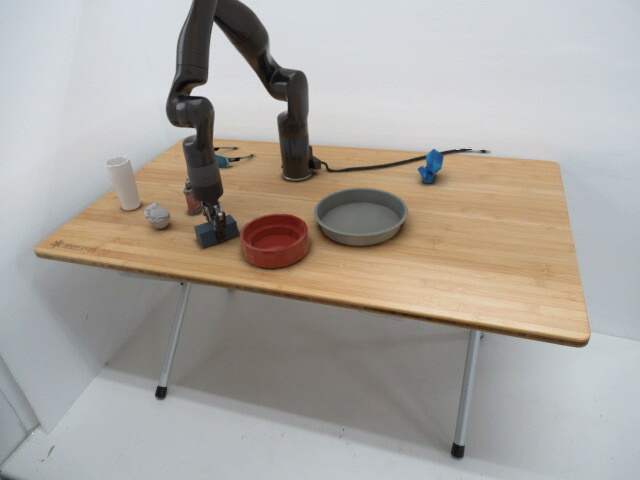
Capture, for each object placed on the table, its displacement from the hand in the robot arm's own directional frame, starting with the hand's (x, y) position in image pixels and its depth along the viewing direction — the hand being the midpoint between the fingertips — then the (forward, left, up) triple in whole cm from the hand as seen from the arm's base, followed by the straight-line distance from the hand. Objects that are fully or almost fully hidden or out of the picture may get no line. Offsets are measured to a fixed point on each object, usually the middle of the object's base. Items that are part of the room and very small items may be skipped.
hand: (217, 236), depth 123 cm
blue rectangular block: (0, 0, 0) cm, 0 cm away
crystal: (-66, +9, -1) cm, 67 cm away
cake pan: (-34, +17, -1) cm, 38 cm away
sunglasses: (-22, -46, -1) cm, 51 cm away
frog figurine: (+11, -15, -1) cm, 19 cm away
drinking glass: (+15, -32, -1) cm, 35 cm away
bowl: (-10, +14, 0) cm, 17 cm away
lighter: (-1, -19, -1) cm, 19 cm away
